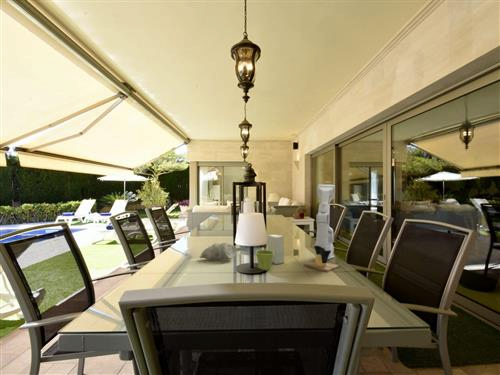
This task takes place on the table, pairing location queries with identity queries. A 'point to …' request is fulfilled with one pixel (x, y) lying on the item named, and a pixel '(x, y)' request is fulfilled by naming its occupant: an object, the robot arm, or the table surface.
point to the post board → (322, 268)
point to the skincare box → (276, 248)
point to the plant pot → (264, 259)
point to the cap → (319, 260)
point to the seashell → (219, 252)
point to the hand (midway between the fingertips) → (321, 261)
